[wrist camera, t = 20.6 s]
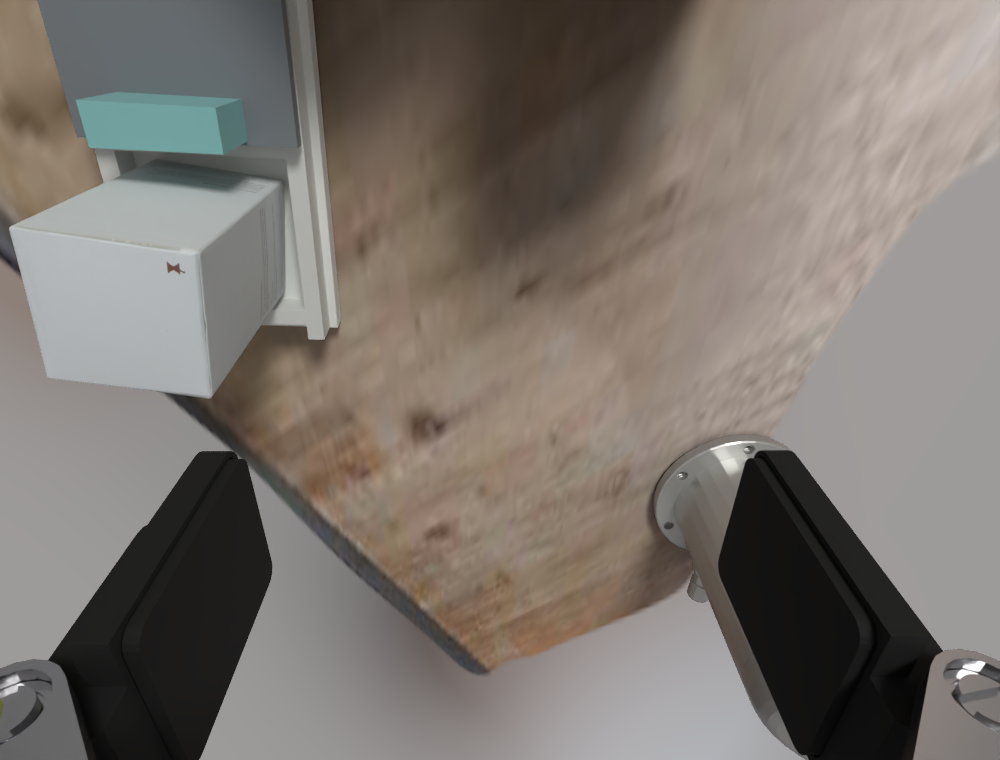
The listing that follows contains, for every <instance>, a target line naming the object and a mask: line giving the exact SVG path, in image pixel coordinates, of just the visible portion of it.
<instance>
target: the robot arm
mask: <svg viewBox="0 0 1000 760" xmlns="http://www.w3.org/2000/svg"><path fill="white" fill-rule="evenodd" d="M653 508H654V515H655V518H656V520H657V523H658V526H659V528H660V530H661V531H662V533H663V535H664V536H665V537H666V538H667V539H668V540H669V541H670V542H672V543H673V544H675V545H677V546H678V547H680V548H682V549H685V550H688V551H689V553H690V555H691V558H692V560H693V562H692V569H693V570H694V574H692V577H691V580H690V583H689V586H688V590H687V593H688V595H689V597H690V598H691V599H692V600H694V601H697V602H702V603H703V602H706V601H707V600H708V599H709V602H710V604H711V607H712V609H713V612H714V614H715V617H716V619H717V621H718V624H719V626H720V629H721V631H722V634H723V636H724V639H725V641H726V643H727V646H728V648H729V651H730V653H731V655H732V658H733V661H734V663H735V665H736V668H737V670H738V673H739V675H740V678H741V680H742V682H743V684H744V687H745V689H746V692H747V694H748V697H749V699H750V701H751V704H752V706H753V708H754V710H755V712H756V713H757V715H758V716H759V718H760V719H761V721H762V722H763V724H764V725H765V726H766V727H767V728H768V730H769V731H770V732H771V733H772V734H773V735H774V736H775V737H776V738H777V739H778V740H779V741H781V742H782V743H783V744H784V745H785V746H786V747H788V748H789V749H790V750H792V751H794V752H795V753H796V754H798V755H799V756H801V757H802V758H804V759H805V760H1000V661H998V660H996V659H994V658H992V657H989V656H986V655H984V654H981V653H978V652H975V651H969V650H963V649H953V650H945V651H943V650H942V649H941V648H940V646H939V645H938V644H937V642H936V641H935V640H934V638H933V637H932V636H931V634H930V633H929V632H928V630H927V629H926V628H925V626H924V625H923V624H922V622H921V621H920V620H919V618H918V617H917V616H916V614H915V613H914V612H913V610H912V609H911V608H910V606H909V605H908V604H907V602H906V601H905V600H904V598H903V597H902V596H901V594H900V593H899V592H898V590H897V589H896V588H895V586H894V585H893V584H892V582H891V581H890V580H889V578H888V577H887V576H886V574H885V573H884V572H883V570H882V569H881V568H880V566H879V565H878V564H877V562H876V561H875V560H874V558H873V557H872V556H871V555H870V553H869V552H868V550H867V549H866V548H865V546H864V545H863V544H862V542H861V541H860V540H859V538H858V537H857V536H856V534H855V533H854V532H853V530H852V529H851V528H850V526H849V525H848V524H847V522H846V521H845V520H844V518H843V517H842V516H841V514H840V513H839V512H838V510H837V509H836V508H835V506H834V505H833V504H832V502H831V501H830V500H829V498H828V497H827V496H826V494H825V493H824V492H823V490H822V489H821V488H820V486H819V485H818V484H817V482H816V481H815V480H814V478H813V477H812V476H811V474H810V473H809V472H808V470H807V469H806V468H805V466H804V465H803V464H802V462H801V461H800V460H799V458H798V457H797V456H796V455H795V453H793V452H792V451H791V450H790V449H789V448H787V447H786V446H785V445H783V444H782V443H780V442H778V441H775V440H773V439H770V438H766V437H762V436H756V435H736V436H728V437H724V438H719V439H715V440H712V441H710V442H707V443H705V444H702V445H700V446H698V447H696V448H694V449H693V450H691V451H689V452H687V453H686V454H684V455H683V456H682V457H681V458H679V459H678V460H677V461H675V462H674V463H673V464H672V466H671V467H670V468H669V469H668V470H667V471H666V472H665V473H664V475H663V477H662V478H661V480H660V481H659V483H658V486H657V488H656V491H655V494H654V501H653ZM271 575H272V561H271V557H270V553H269V549H268V545H267V541H266V537H265V533H264V529H263V525H262V521H261V517H260V513H259V509H258V505H257V501H256V497H255V493H254V489H253V485H252V481H251V477H250V473H249V469H248V465H247V462H246V461H245V460H244V459H238V457H237V455H236V454H235V453H234V452H232V451H211V452H210V451H206V452H205V451H202V452H199V453H198V454H197V455H196V456H195V457H194V459H193V460H192V462H191V463H190V465H189V466H188V467H187V469H186V470H185V472H184V473H183V475H182V476H181V477H180V479H179V480H178V482H177V483H176V485H175V486H174V488H173V489H172V491H171V492H170V493H169V495H168V496H167V498H166V499H165V501H164V502H163V503H162V505H161V506H160V508H159V509H158V511H157V512H156V513H155V515H154V516H153V518H152V519H151V521H150V522H149V524H148V525H147V526H145V527H143V528H142V529H141V530H140V531H139V533H137V535H136V536H135V538H134V539H133V540H132V542H131V543H130V545H129V546H128V547H127V549H126V550H125V552H124V553H123V555H122V556H121V558H120V559H119V560H118V562H117V563H116V565H115V566H114V568H113V569H112V570H111V572H110V573H109V575H108V576H107V577H106V579H105V580H104V582H103V583H102V585H101V586H100V587H99V589H98V590H97V592H96V593H95V594H94V596H93V597H92V599H91V600H90V602H89V603H88V604H87V606H86V607H85V609H84V610H83V611H82V613H81V614H80V616H79V617H78V619H77V620H76V622H75V623H74V624H73V626H72V627H71V629H70V630H69V631H68V633H67V634H66V636H65V637H64V639H63V640H62V641H61V643H60V644H59V646H58V647H57V648H56V650H55V651H54V653H53V654H52V656H51V657H50V658H49V660H36V659H32V660H27V661H22V662H16V663H13V664H11V665H8V666H6V667H3V668H0V760H199V759H200V757H201V755H202V752H203V750H204V748H205V745H206V743H207V740H208V737H209V735H210V732H211V730H212V727H213V725H214V722H215V720H216V717H217V715H218V712H219V710H220V707H221V705H222V702H223V700H224V697H225V695H226V692H227V689H228V687H229V684H230V682H231V679H232V677H233V674H234V672H235V669H236V666H237V664H238V662H239V659H240V656H241V654H242V651H243V649H244V646H245V644H246V641H247V639H248V636H249V634H250V631H251V629H252V626H253V624H254V621H255V619H256V616H257V614H258V611H259V609H260V606H261V603H262V601H263V598H264V596H265V593H266V591H267V588H268V586H269V583H270V580H271Z"/></svg>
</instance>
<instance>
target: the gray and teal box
mask: <svg viewBox="0 0 1000 760" xmlns="http://www.w3.org/2000/svg"><path fill="white" fill-rule="evenodd" d="M37 1H38V4H39V7H40V11H41V14H42V18H43V21H44V24H45V28H46V31H47V35H48V38H49V42H50V45H51V48H52V52H53V55H54V59H55V62H56V66H57V69H58V72H59V76H60V79H61V83H62V86H63V89H64V93H65V96H66V100H67V103H68V107H69V110H70V113H71V117H72V120H73V124H74V127H75V130H76V134H77V137H86V138H87V141H88V145H89V148H103V149H122V150H142V151H162V152H182V153H202V154H222V155H224V154H226V153H227V152H229V151H231V150H233V149H235V148H237V147H239V146H240V145H245V146H265V147H284V148H299V147H300V146H301V137H300V128H299V119H298V110H297V101H296V91H295V82H294V73H293V64H292V55H291V46H290V37H289V28H288V19H287V10H286V1H285V0H37Z"/></svg>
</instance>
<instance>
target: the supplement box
mask: <svg viewBox="0 0 1000 760" xmlns="http://www.w3.org/2000/svg"><path fill="white" fill-rule="evenodd" d="M9 230H10V234H11V238H12V241H13V245H14V249H15V253H16V256H17V260H18V264H19V268H20V272H21V276H22V279H23V283H24V287H25V291H26V295H27V299H28V303H29V307H30V311H31V315H32V319H33V323H34V327H35V331H36V334H37V338H38V343H39V347H40V351H41V355H42V359H43V362H44V366H45V371H46V375H47V377H48V378H50V379H58V380H66V381H75V382H83V383H91V384H100V385H108V386H116V387H125V388H133V389H143V390H151V391H157V392H164V393H171V394H178V395H186V396H193V397H200V398H207V399H210V398H212V396H213V395H214V393H215V392H216V391H217V389H218V388H219V386H220V385H221V383H222V382H223V381H224V379H225V378H226V376H227V375H228V373H229V372H230V370H231V369H232V368H233V366H234V365H235V363H236V361H237V360H238V358H239V357H240V356H241V354H242V353H243V351H244V350H245V348H246V347H247V345H248V344H249V342H250V341H251V339H252V338H253V336H254V335H255V333H256V332H257V330H258V329H259V328H260V326H261V325H262V323H263V322H264V320H265V319H266V317H267V316H268V314H269V313H270V311H271V310H272V309H273V307H274V306H275V304H276V303H277V301H278V300H279V299H280V297H281V296H282V294H283V293H284V291H285V212H284V181H283V180H278V179H273V178H267V177H261V176H255V175H249V174H243V173H238V172H232V171H225V170H220V169H214V168H208V167H201V166H196V165H190V164H183V163H178V162H172V161H165V160H160V159H155V160H153V161H150V162H148V163H146V164H144V165H142V166H140V167H138V168H135V169H133V170H131V171H129V172H127V173H125V174H122V175H120V176H118V177H116V178H114V179H112V180H110V181H107V182H105V183H103V184H101V185H99V186H97V187H95V188H92V189H90V190H88V191H86V192H83V193H81V194H79V195H77V196H75V197H73V198H70V199H68V200H66V201H64V202H62V203H60V204H57V205H56V206H54V207H51V208H49V209H47V210H45V211H43V212H40V213H38V214H36V215H34V216H32V217H30V218H28V219H25V220H23V221H21V222H19V223H17V224H15V225H12V226H11V227H10V228H9Z"/></svg>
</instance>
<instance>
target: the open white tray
mask: <svg viewBox="0 0 1000 760" xmlns="http://www.w3.org/2000/svg"><path fill="white" fill-rule="evenodd" d="M285 1H286V10H287V19H288V28H289V37H290V46H291V55H292V64H293V73H294V82H295V91H296V101H297V110H298V119H299V128H300V137H301V146H300V147H299V148H284V147H265V146H245V145H240V146H239V147H237V148H235V149H233V150H231V151H229V152H227V153H226V154H224V155H222V154H202V153H182V152H162V151H142V150H122V149H103V148H94V150H95V153H96V157H97V160H98V164H99V168H100V171H101V175H102V178H103V182H104V183H105V182H107V181H110V180H112V179H114V178H116V177H118V176H120V175H122V174H125V173H127V172H129V171H131V170H133V169H135V168H138V167H140V166H142V165H144V164H146V163H148V162H150V161H153V160H155V159H160V160H165V161H172V162H178V163H183V164H190V165H196V166H201V167H208V168H214V169H220V170H225V171H232V172H238V173H243V174H249V175H255V176H261V177H267V178H273V179H278V180H283V181H284V212H285V291H284V293H283V294H282V296H281V297H280V299H279V300H278V301H277V303H276V304H275V306H274V307H273V309H272V310H271V311H270V313H269V314H268V316H267V317H266V319H265V320H264V322H263V323H262V325H272V326H303V327H307V332H308V339H315V340H324V339H325V337H326V335H327V333H328V331H329V329H330V327H334V328H338V326H339V324H340V321H341V313H340V302H339V291H338V280H337V269H336V258H335V247H334V236H333V225H332V214H331V203H330V192H329V181H328V170H327V159H326V148H325V137H324V126H323V115H322V104H321V92H320V81H319V70H318V59H317V48H316V37H315V26H314V15H313V4H312V0H285Z"/></svg>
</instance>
